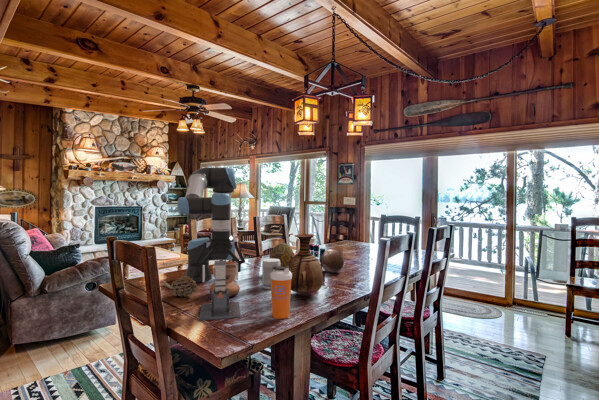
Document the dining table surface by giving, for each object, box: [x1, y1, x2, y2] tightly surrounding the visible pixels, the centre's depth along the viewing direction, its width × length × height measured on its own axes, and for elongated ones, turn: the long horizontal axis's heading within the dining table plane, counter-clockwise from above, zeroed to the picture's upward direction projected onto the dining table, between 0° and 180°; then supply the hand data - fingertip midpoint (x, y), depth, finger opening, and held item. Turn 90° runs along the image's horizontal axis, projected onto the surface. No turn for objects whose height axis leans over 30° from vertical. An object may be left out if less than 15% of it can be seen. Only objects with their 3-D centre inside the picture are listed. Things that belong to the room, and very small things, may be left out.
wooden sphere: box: [320, 248, 345, 274], centre depth 208 cm, size 15×15×15 cm
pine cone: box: [162, 276, 198, 298], centre depth 159 cm, size 22×10×10 cm, turn 67°
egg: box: [268, 242, 296, 267], centre depth 199 cm, size 16×16×20 cm
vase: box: [288, 233, 324, 297], centre depth 160 cm, size 21×18×30 cm
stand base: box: [198, 289, 242, 321], centre depth 138 cm, size 16×16×9 cm
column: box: [214, 260, 228, 294], centre depth 138 cm, size 5×5×20 cm
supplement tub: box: [261, 257, 280, 291], centre depth 174 cm, size 10×10×15 cm
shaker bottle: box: [270, 266, 292, 320], centre depth 134 cm, size 9×9×20 cm
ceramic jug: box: [208, 263, 241, 298], centre depth 161 cm, size 18×14×14 cm
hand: (220, 280), depth 138 cm, fingers open, 13 cm apart
